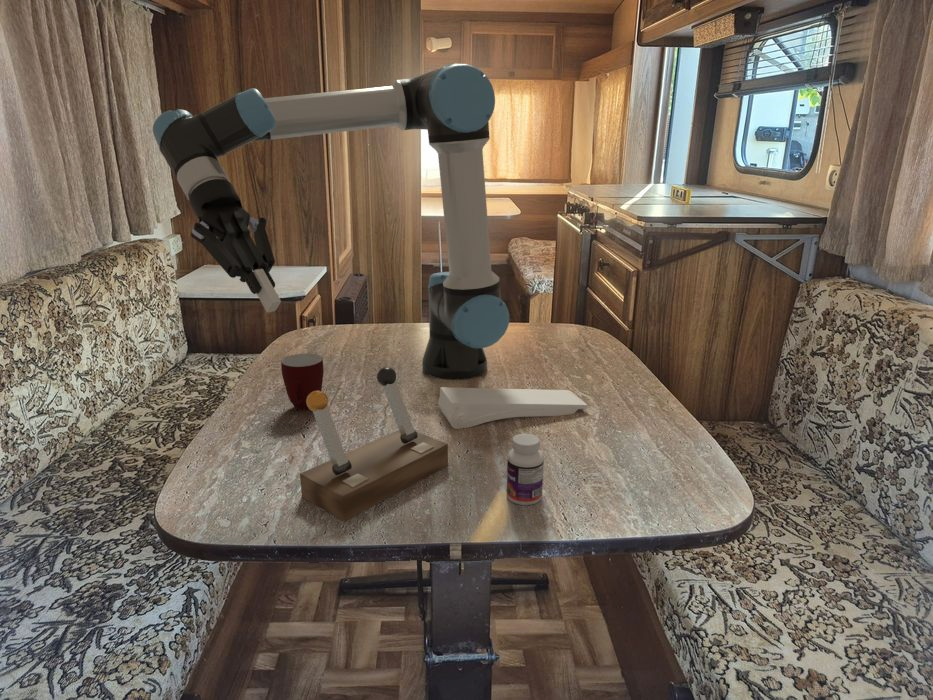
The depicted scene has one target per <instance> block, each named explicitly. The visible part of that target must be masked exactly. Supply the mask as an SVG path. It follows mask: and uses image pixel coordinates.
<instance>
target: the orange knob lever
mask: <svg viewBox="0 0 933 700" xmlns="http://www.w3.org/2000/svg"><path fill="white" fill-rule="evenodd" d="M306 403H307V406H308V408H309V409H310V410H309V411H312V413H313V416H314V419H315V420H316V423H317V426H318V429H319V432H320V434H321V437H322V440H323V443H324V445H325V449H326V451H327V454H328V456H329V459H330V460H331V462H332V465H333V466H332V471H333V473H334V474H335V475H339V474H341V473H343V472H346V471H348V470H350V469H351V468H352V465H351V462H350V461H349V460H348V459H347V457H346V455H345V453H346V452H345V449H344V447H343V444H342V441H341V439H340V436H339V433H338V430H337V428H336V426H335V423H334V420H333V417H332V415H331V412H330V409H329V407H328V405H329V398H328V395H327V394H326V393H325V392H323V391H313V392H311V393H310V394H309V395H308V397H307V400H306Z"/></svg>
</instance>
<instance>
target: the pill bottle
mask: <svg viewBox="0 0 933 700" xmlns="http://www.w3.org/2000/svg"><path fill="white" fill-rule="evenodd" d="M540 445H541V444H540V438H539V436H537V435H536V434H532V433H524V432H522V433H518V434H516V435H514V436H513V437H512V448H511V450H509V451H508V453H507V462H506V465H507V466H506V470H507V471H506V496H507V498H508V499H509V501H511V503H514V504H516V505H521V506H530V505H534V504H537V503H539V502H540V501H541V500H542V498H543V483H544V466H545V465H544V463H545V462H544V461H545V460H544V459H545V458H544V454H543V452H542V451H541V450H540V449H541V448H540V447H541V446H540Z"/></svg>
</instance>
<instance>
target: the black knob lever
mask: <svg viewBox="0 0 933 700" xmlns="http://www.w3.org/2000/svg"><path fill="white" fill-rule="evenodd" d="M376 379H377V382H378V383H379V385H380V386H382V388H383V390H384V394H385V396H386V398H387V401H388V404H389V407H390V409H391V412H392V415H393V418H394V420H395V423H396V425H397V428H398V430H399V431H400V434H401V436H400V439H401V441H402V443H404V444H406V443H408V442H410V441H412V440H414V439H416V438H417V437H418V435H417V432H418V431H417V432H416V430H415V429H414V426H413V424H412V421H411V419H410V415H409V413H408V410H407V408H406V407H407V406H405V402H404V400H403V396H402V394H401V392H400V389H399V386H398V384H397V373H396V371H395V370H394V368H391V367H389V366H385V367H382V368H380V369H379V370H378V371H377V374H376Z"/></svg>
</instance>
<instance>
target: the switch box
mask: <svg viewBox="0 0 933 700" xmlns="http://www.w3.org/2000/svg"><path fill="white" fill-rule="evenodd" d="M415 431H416V430H415ZM416 432H417V435H418V437H417V438H416V439H414V440H412V441H410V442H408V443H406V444H404V443H402V441H401V439H400V436H401V434H400V431H399V429H397V430H395V431H394V432H391V433H389V434H386V435H384V436H382V437H380V438H377V439H375V440H373V441H370V442H368V443H366V444H364V445H361V446H359V447H357V448H355V449H352V450H349V451H348V452H345V455H346V457H347V459H348V460H349V461H350V462H351V465H352V468H351V469H350V470H348V471H346V472H343V473H341V474H339V475H335V474H334V473H333V471H332V466H333V465H332V462H331V459H330V460H327V461H325V462H323V463H321V464H318V465H316V466H314V467H311V468H309V469H307V470H305V471H302V472H301V473H299V478H300V493H301V498H303V499H304V500H306V501H308V502H310V503H311V504H313V505H315V506H317V507H318V508H320V509H322V510H324V511H326V512H327V513H329V514H331V515H332V516H334V517H336V518H338V519H340V520H342V521H344V522H345V521H347V520H350V519H351V518H353V517H354V516H356V515H358V514H360V513H362V512H364V511H366V510H368V509H370V508H371V507H374V506H375V505H377V504H379V503H381V502H383V501H384V500H386V499H389V498H390V497H392V496H394V495H396V494H398V493H400V492H401V491H403V490H405V489H407V488H409V487H411V486H413V485H414V484H416V483H419V482H420V481H423V480H424V479H426V478H428V477H429V476H432V475H433V474H436V473H437V472H439V471H441V470H443V469H445V468H446V467H448V466H449V443H446V442H443V441H441V440H439V439H437V438H434V437H431V436H429V435H426V434H423V433H421V432H419V431H416Z"/></svg>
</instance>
